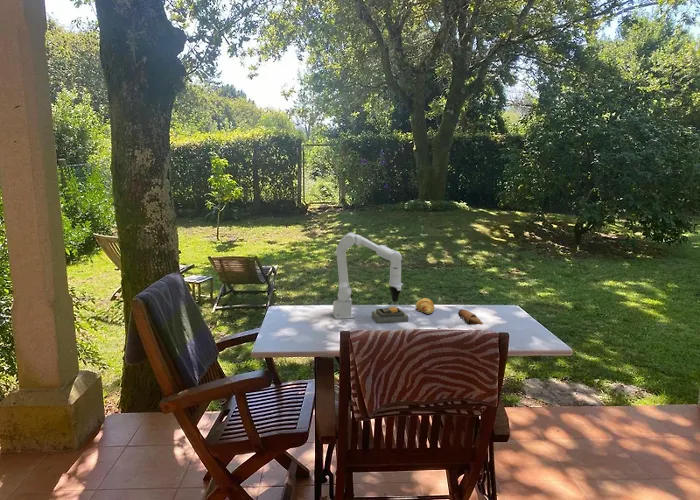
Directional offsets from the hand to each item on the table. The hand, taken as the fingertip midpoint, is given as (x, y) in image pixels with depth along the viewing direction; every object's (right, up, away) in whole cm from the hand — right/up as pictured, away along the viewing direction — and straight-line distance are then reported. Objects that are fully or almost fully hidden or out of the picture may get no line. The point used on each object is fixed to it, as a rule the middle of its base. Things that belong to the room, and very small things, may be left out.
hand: (394, 301), depth 272 cm
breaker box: (-3, -9, +1) cm, 10 cm away
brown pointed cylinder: (+39, -10, +2) cm, 41 cm away
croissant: (+18, -7, +20) cm, 27 cm away
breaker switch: (-2, -5, 0) cm, 6 cm away
